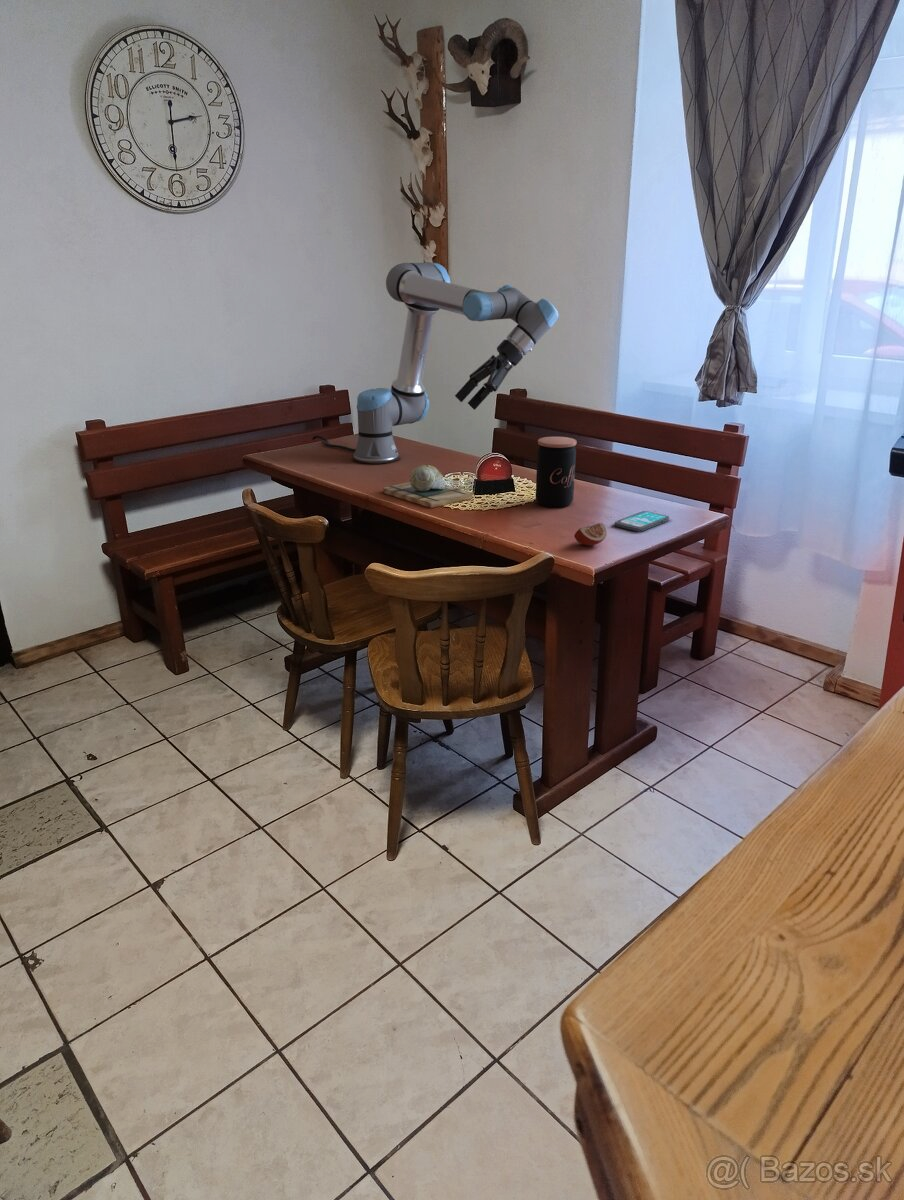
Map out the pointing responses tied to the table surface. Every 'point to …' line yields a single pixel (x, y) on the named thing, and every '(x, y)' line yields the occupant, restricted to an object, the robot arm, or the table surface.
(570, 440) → the coffee jar
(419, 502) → the board
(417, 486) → the seashell
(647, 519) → the smartphone
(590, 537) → the fruit slice
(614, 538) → the table surface
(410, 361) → the robot arm
